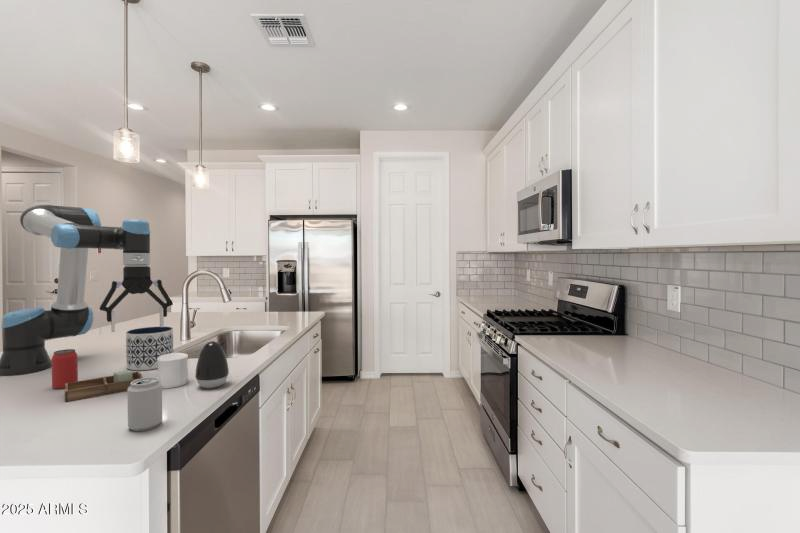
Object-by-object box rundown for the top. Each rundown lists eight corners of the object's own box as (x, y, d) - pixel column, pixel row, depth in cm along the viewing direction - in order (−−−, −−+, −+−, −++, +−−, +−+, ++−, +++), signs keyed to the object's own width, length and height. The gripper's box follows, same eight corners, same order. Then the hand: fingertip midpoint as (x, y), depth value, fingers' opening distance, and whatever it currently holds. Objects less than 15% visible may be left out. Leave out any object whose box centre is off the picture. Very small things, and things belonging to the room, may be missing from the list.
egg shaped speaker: (235, 383, 133) (235, 339, 133) (209, 393, 124) (209, 346, 123) (215, 379, 137) (214, 337, 137) (188, 388, 128) (188, 343, 128)
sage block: (113, 384, 129) (113, 372, 128) (127, 381, 132) (127, 370, 132) (118, 387, 126) (118, 374, 126) (132, 383, 130) (132, 372, 129)
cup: (165, 390, 126) (165, 361, 125) (150, 385, 131) (149, 357, 131) (194, 382, 134) (193, 355, 134) (178, 378, 139) (178, 351, 139)
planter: (148, 359, 164) (148, 326, 164) (182, 360, 162) (181, 327, 162) (116, 370, 149) (115, 333, 148) (153, 372, 146) (152, 334, 146)
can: (138, 420, 103) (138, 375, 103) (168, 419, 104) (167, 375, 103) (121, 433, 96) (120, 385, 95) (152, 432, 96) (152, 384, 96)
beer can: (62, 390, 126) (62, 353, 126) (46, 388, 127) (46, 352, 127) (83, 383, 133) (82, 349, 132) (67, 382, 134) (67, 348, 134)
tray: (65, 393, 123) (65, 383, 123) (139, 380, 136) (139, 371, 136) (65, 402, 116) (65, 391, 116) (143, 387, 129) (143, 378, 128)
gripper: (89, 266, 118) (91, 335, 118) (181, 265, 134) (182, 326, 134) (88, 266, 124) (90, 332, 124) (177, 265, 140) (178, 323, 140)
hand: (138, 329), depth 129 cm, fingers open, 13 cm apart
